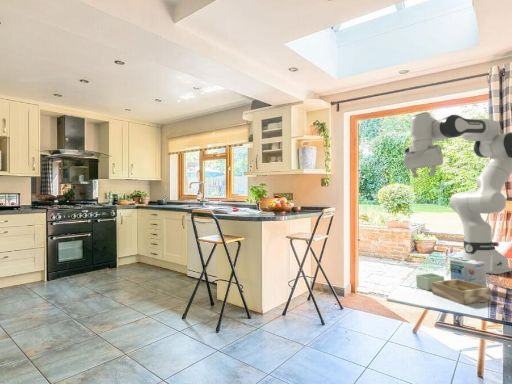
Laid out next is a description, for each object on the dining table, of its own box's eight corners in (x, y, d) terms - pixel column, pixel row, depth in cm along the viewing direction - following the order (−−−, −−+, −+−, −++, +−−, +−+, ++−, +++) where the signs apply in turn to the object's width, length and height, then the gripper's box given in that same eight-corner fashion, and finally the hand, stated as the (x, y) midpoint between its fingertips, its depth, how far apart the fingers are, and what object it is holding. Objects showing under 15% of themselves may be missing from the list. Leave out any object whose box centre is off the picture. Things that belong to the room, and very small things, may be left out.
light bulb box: (450, 285, 131) (449, 259, 131) (460, 282, 134) (459, 257, 134) (476, 291, 121) (475, 263, 122) (487, 289, 124) (486, 261, 124)
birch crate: (458, 290, 123) (457, 278, 124) (490, 300, 111) (490, 287, 111) (432, 293, 120) (432, 282, 120) (463, 304, 108) (462, 291, 108)
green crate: (432, 285, 132) (431, 273, 132) (444, 288, 126) (443, 276, 126) (416, 287, 130) (416, 275, 130) (428, 291, 124) (427, 278, 124)
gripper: (446, 143, 137) (447, 175, 137) (411, 151, 157) (413, 178, 156) (434, 143, 135) (435, 175, 135) (401, 150, 155) (402, 178, 155)
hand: (423, 177), depth 146 cm, fingers open, 8 cm apart
